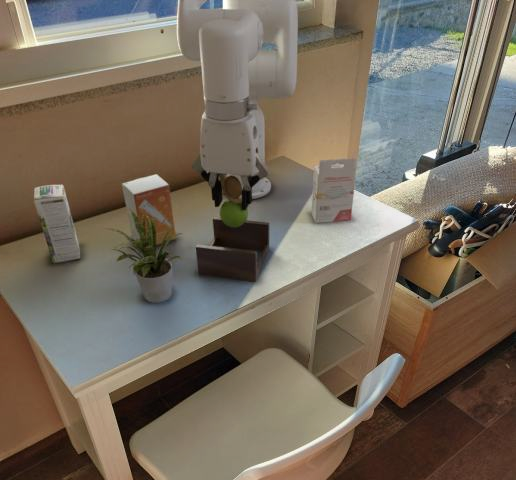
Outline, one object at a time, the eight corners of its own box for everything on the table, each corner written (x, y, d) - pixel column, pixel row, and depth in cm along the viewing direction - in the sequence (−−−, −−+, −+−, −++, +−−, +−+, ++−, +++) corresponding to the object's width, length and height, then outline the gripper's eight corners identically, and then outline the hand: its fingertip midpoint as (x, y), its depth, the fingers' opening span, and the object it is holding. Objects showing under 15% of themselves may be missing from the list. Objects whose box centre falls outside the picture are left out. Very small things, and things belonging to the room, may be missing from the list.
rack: (216, 243, 113) (213, 216, 108) (269, 249, 111) (269, 222, 106) (198, 274, 104) (195, 246, 100) (256, 282, 102) (255, 254, 97)
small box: (143, 250, 111) (132, 194, 102) (131, 238, 115) (120, 182, 106) (177, 239, 114) (169, 184, 105) (164, 227, 118) (156, 173, 109)
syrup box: (52, 250, 112) (31, 187, 102) (80, 245, 113) (62, 182, 103) (53, 264, 108) (31, 199, 98) (82, 259, 109) (63, 195, 99)
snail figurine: (232, 213, 105) (229, 156, 97) (253, 225, 102) (252, 167, 93) (211, 223, 102) (207, 165, 94) (233, 235, 99) (230, 176, 91)
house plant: (103, 288, 101) (83, 213, 90) (165, 264, 107) (153, 190, 96) (137, 325, 93) (119, 247, 81) (202, 296, 99) (193, 220, 87)
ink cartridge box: (345, 210, 123) (352, 149, 113) (351, 220, 119) (358, 158, 109) (310, 213, 122) (314, 151, 112) (314, 223, 118) (319, 161, 109)
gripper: (280, 102, 88) (279, 200, 100) (186, 96, 91) (196, 191, 103) (271, 118, 82) (271, 219, 95) (171, 111, 85) (184, 210, 98)
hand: (232, 204), depth 99 cm, fingers closed on snail figurine, 4 cm apart
